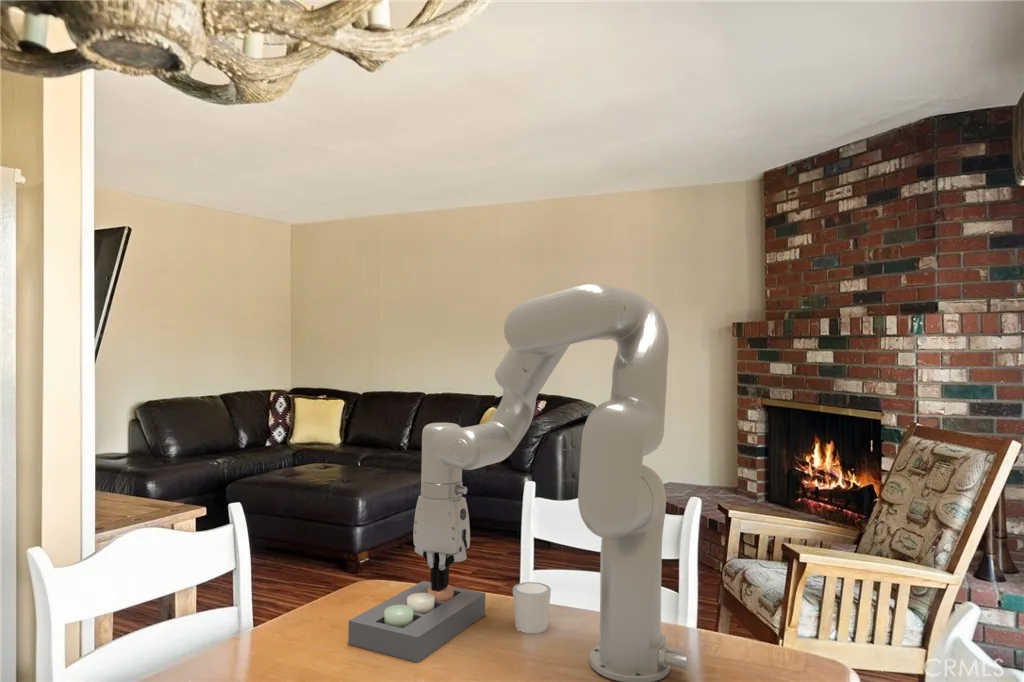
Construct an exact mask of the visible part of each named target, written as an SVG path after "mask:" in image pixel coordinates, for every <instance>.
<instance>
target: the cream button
mask: <svg viewBox="0 0 1024 682" xmlns="http://www.w3.org/2000/svg"><path fill="white" fill-rule="evenodd" d="M407 605H408V606H411V607H412V608H413V612H416V613H420V614H427V613H428V612H430V611H432V610H433V609H434V595H432V594H429V593H415V594H411V595H409V596H408V597H407Z"/></svg>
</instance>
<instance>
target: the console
mask: <svg viewBox="0 0 1024 682" xmlns="http://www.w3.org/2000/svg"><path fill="white" fill-rule="evenodd" d="M429 587H431V581H425V580H422V581H420V582H418V583H416V584H414V585H413V586H410V587H409V588H407V589H405V590H404V591H401V592H400V593H397V594H396V595H394V596H392V597H390V598H388V599H386V600H385V601H383V602H380V603H378V604H377V605H375V606H373V607H371V608H370V609H367V610H366V611H364V612H363V613H362V612H361V614H358V615H356V616H355V617H352V618H350V619H349V620H348V631H347V632H348V641H347V642H348V646H353V647H357V648H360V649H364V650H367V651H372V652H375V653H379V654H383V655H386V656H389V657H390V656H391V657H395V658H399V659H402V660H406V661H410V662H413V663H417V664H418V663H420V661H422V660H424V659H425V658H427V657H428V656H430V655H431V654H432V653H433V652H435V651H436V650H438V649H439V648H441V647H442V646H443V645H445V644H446V643H448V642H449V641H450V640H452V639H453V638H454V636H455V635H456V636H457V635H459V634H460V633H461V631H462V632H463V631H464V630H465V628H466V629H467V628H468V626H469V625H470V626H472V623H473V622H474V623H476V622H477V621H478V620H480V619H481V618H482V616H483V617H484V616H486V593H485V592H480V591H476V590H473V589H466V588H462V587H461V588H460V587H455V586H452V587H453V588H454V597H453V598H451V599H450V600H448V601H446V602H443V601H438V600H434V609H433V610H432V611H430V612H428V613H427V614H420V613H416V612H413V622H412V623H410V624H409V625H407V626H406V627H404V628H399V627H395V626H391V625H387V624H384V611H385V609H386V608H388V607H390V606H393V605H407V597H408V596H409V595H411V594H415V593H428V588H429ZM479 618H480V619H479ZM476 620H477V621H476ZM475 621H476V622H475ZM474 623H473V624H474ZM470 626H469V627H470ZM458 633H459V634H458ZM456 636H455V637H456ZM451 638H452V639H451ZM448 640H449V641H448ZM447 641H448V642H447ZM445 642H446V643H445ZM444 643H445V644H444Z"/></svg>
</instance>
